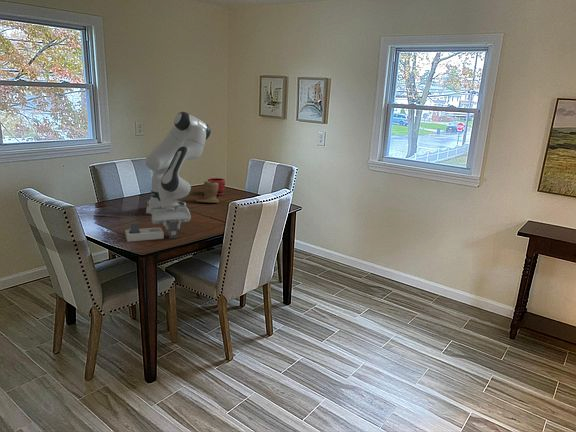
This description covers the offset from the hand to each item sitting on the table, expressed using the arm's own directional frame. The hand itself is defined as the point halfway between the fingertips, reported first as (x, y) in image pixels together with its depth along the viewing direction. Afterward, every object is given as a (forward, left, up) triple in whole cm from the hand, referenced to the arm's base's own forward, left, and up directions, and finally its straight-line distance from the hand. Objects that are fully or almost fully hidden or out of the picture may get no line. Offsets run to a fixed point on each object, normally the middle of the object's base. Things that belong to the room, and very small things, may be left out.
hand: (173, 229), depth 229 cm
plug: (-1, 0, -5) cm, 5 cm away
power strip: (-10, -14, -5) cm, 18 cm away
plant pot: (-91, +51, -5) cm, 104 cm away
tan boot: (-70, +39, -5) cm, 80 cm away
